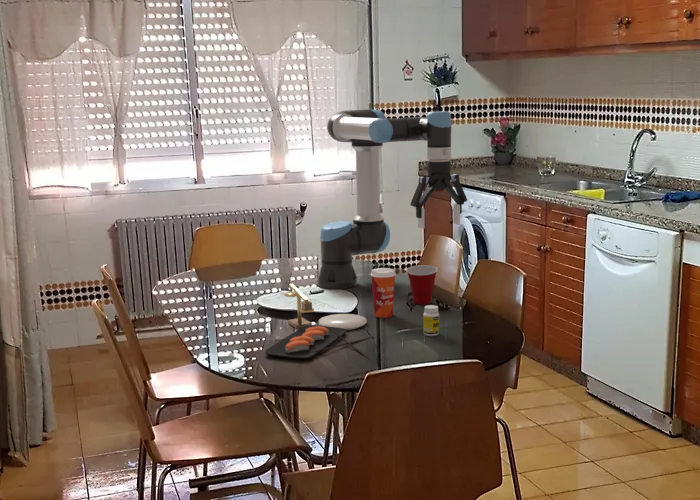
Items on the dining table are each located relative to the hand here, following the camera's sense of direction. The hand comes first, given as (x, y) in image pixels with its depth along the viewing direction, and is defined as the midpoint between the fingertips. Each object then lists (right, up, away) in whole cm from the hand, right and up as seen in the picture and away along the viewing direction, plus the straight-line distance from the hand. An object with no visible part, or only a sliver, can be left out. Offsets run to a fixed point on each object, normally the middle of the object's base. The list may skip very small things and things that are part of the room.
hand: (439, 226), depth 260 cm
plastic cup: (-4, -26, +14) cm, 30 cm away
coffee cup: (-18, -29, 0) cm, 34 cm away
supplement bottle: (-5, -33, -21) cm, 40 cm away
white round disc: (-31, -31, -9) cm, 45 cm away
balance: (-45, -31, -9) cm, 55 cm away
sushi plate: (-34, -36, -32) cm, 59 cm away
